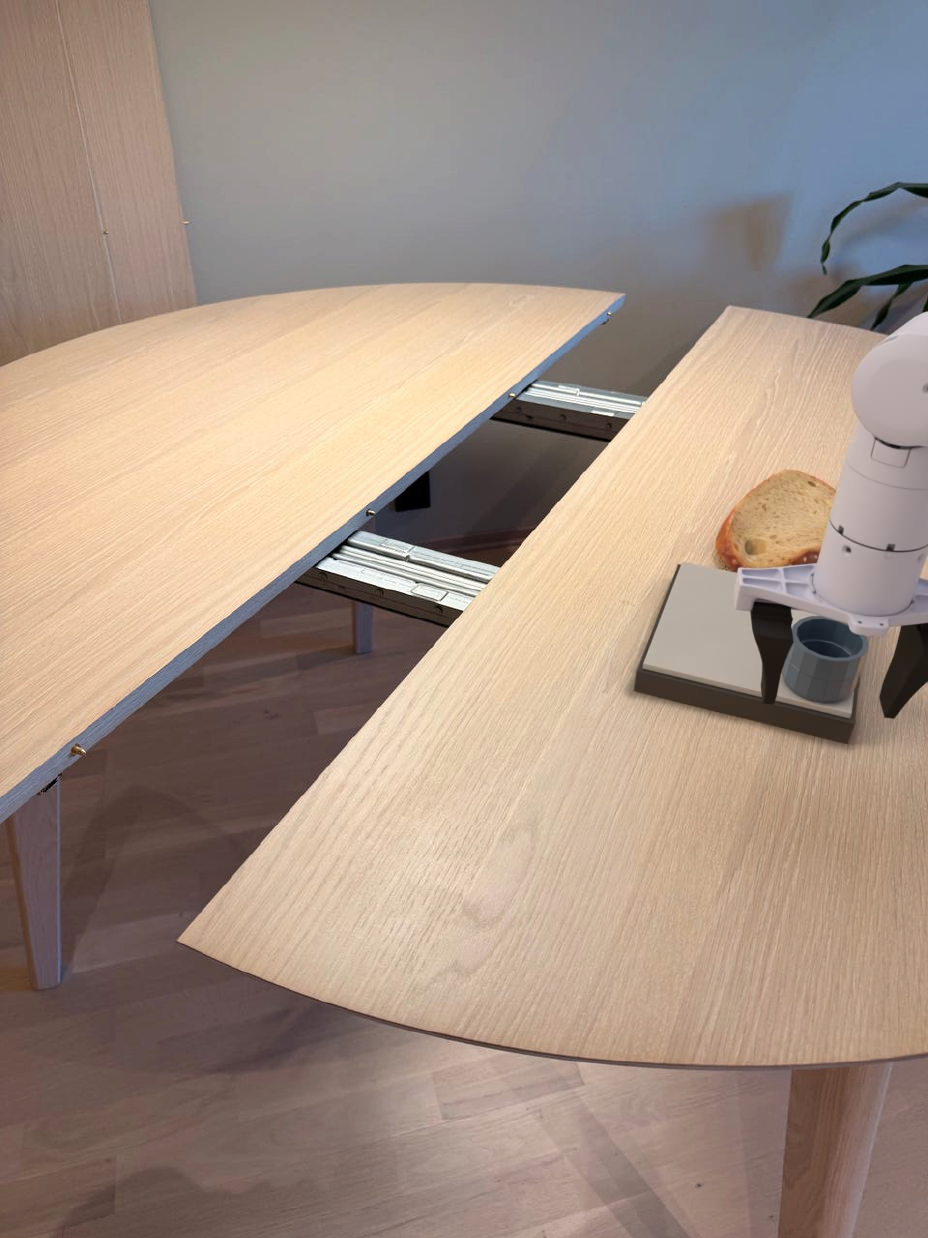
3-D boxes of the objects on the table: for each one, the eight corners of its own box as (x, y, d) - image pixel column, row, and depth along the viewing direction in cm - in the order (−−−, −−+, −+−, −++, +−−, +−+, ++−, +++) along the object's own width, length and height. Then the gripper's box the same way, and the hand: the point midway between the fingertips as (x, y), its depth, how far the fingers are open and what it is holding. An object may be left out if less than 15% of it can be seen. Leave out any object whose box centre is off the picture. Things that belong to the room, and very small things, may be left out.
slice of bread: (807, 481, 107) (815, 451, 105) (906, 566, 94) (917, 534, 91) (662, 501, 104) (666, 471, 101) (742, 593, 90) (749, 560, 88)
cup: (868, 694, 74) (884, 649, 72) (812, 713, 72) (825, 668, 70) (820, 652, 78) (833, 609, 76) (765, 670, 77) (776, 626, 74)
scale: (850, 744, 74) (859, 718, 72) (633, 691, 79) (637, 665, 77) (862, 622, 86) (870, 597, 85) (674, 582, 91) (678, 558, 90)
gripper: (756, 550, 53) (716, 728, 61) (1035, 576, 51) (955, 757, 59) (749, 488, 58) (713, 660, 66) (1000, 510, 56) (931, 684, 64)
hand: (826, 701), depth 63 cm, fingers open, 7 cm apart
